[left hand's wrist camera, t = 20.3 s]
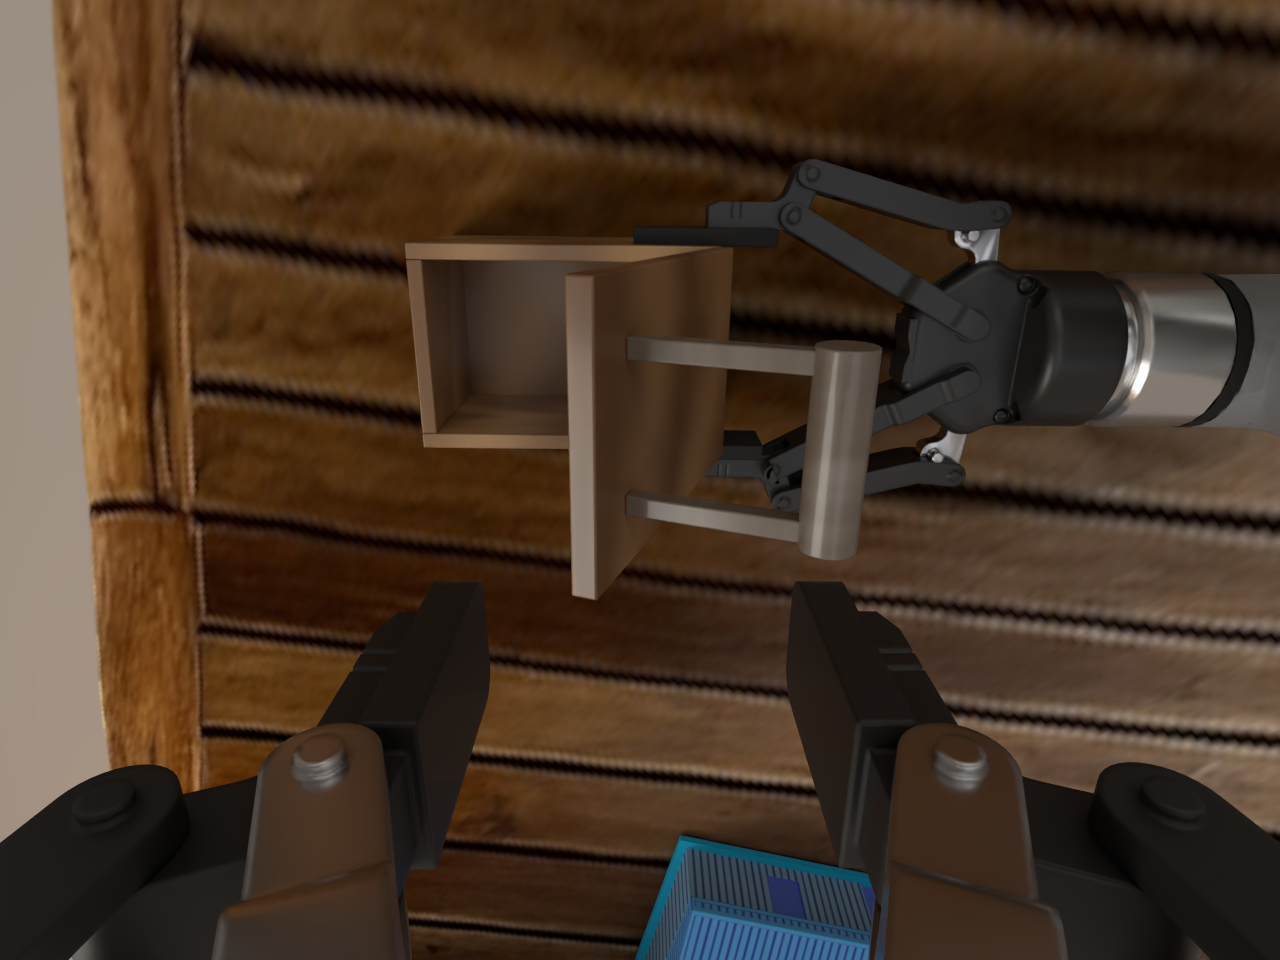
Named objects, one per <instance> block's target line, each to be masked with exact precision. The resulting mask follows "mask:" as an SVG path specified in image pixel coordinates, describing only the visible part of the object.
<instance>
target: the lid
mask: <svg viewBox="0 0 1280 960" xmlns="http://www.w3.org/2000/svg"><path fill="white" fill-rule="evenodd" d="M733 251H734V249H733V248H732V247H713V248H708V249H702V250H697V251H691V252H685V253H680V254H674V255H669V256H663V257H657V258H652V259H646V260H641V261H635V262H629V263H624V264H618V265H613V266H607V267H601V268H596V269H590V270H584V271H579V272H573V273H568V274H566V275H565V312H566V355H567V399H568V443H569V486H570V530H571V573H572V595H573V596H576V597H581V598H586V599H591V600H597V599H598V598H599V597H600V596H601V595H602V594H603V592H604V591H605V590H606V589H607V588H608V587H609V585H610V584H611V583H612V582H613V581H614V580H615V579H616V577H617V576H618V575H619V574H620V573H621V572H622V570H623V569H624V568H625V567H626V566H627V565H628V563H629V562H630V561H631V560H632V559H633V558H634V557H635V555H636V554H637V553H638V552H639V551H640V550H641V548H642V547H643V546H644V545H645V544H646V543H647V542H648V540H649V539H650V538H651V537H652V536H653V535H654V533H655V532H656V531H657V530H658V529H659V528H660V527H661V525H662V524H663V523H664V522H672V523H678V524H684V525H690V526H697V527H703V528H709V529H715V530H722V531H728V532H734V533H740V534H747V535H753V536H759V537H765V538H772V539H778V540H784V541H790V542H796V545H797V548H798V549H799V550H800V551H801V552H803V553H804V554H806V555H808V556H811V557H814V558H818V559H823V560H844V559H848V558H851V557H853V556H854V555H855V554H856V552H857V547H858V539H859V531H860V523H861V515H862V507H863V499H864V491H865V483H866V475H867V467H868V460H869V452H870V444H871V436H872V428H873V420H874V412H875V404H876V396H877V388H878V380H879V373H880V365H881V357H882V348H881V347H880V346H878V345H876V344H872V343H867V342H860V341H848V340H830V341H822V342H818V343H816V344H815V347H810V346H797V345H783V344H769V343H756V342H742V341H729V326H730V307H731V288H732V270H733ZM727 369H736V370H747V371H759V372H770V373H782V374H794V375H805V376H812V380H811V390H810V401H809V411H808V422H807V433H806V443H805V454H804V464H803V475H802V486H801V496H800V507H799V513H793V512H786V511H779V510H772V509H765V508H759V507H752V506H745V505H738V504H731V503H725V502H718V501H711V500H704V499H697V498H691V497H686V496H687V495H688V494H689V493H690V492H691V491H692V490H693V488H694V487H695V486H696V485H697V484H698V483H699V481H700V480H701V479H702V478H703V477H704V476H705V475H706V473H707V472H708V471H709V470H710V469H711V468H712V466H713V465H714V464H715V463H716V462H717V461H718V460H719V458H720V457H721V456H722V455H723V438H724V419H725V401H726V382H727Z"/></svg>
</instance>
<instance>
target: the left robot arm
mask: <svg viewBox="0 0 1280 960" xmlns="http://www.w3.org/2000/svg"><path fill="white" fill-rule="evenodd" d="M363 651H364V652H363V654H361V655H360V657H359V658H358V660H357V662H356V663H355V665H354V667H353V672H350V673H349V675H348V676H347V678H346V680H345V681H344V683H343V684H342V686H341V688H340V689H339V691H338V693H337V694H336V696H335V698H334V699H333V701H332V702H331V704H330V706H329V707H328V709H327V711H326V712H325V714H324V715H323V717H322V719H321V720H320V722H319V724H318V725H317V727H314V728H311V729H308V730H306V731H303V732H301V733H299V734H297V735H295V736H293V737H291V738H289V739H288V740H286V741H284V742H283V743H282V744H280V745H279V746H278V747H276V748H275V749H274V750H273V751H272V752H271V753H270V754H269V755H268V757H267V758H266V759H265V760H264V762H263V764H262V766H261V768H260V770H259V774H258V775H257V776H254V777H252V778H249V779H246V780H242V781H239V782H235V783H231V784H226V785H222V786H217V787H213V788H209V789H204V790H200V791H195V792H191V793H186V794H183V793H182V789H181V785H180V782H179V779H178V777H177V775H176V774H175V773H174V772H173V771H171V770H169V769H168V768H165V767H162V766H158V765H134V766H127V767H123V768H118V769H114V770H111V771H108V772H105V773H102V774H100V775H97V776H95V777H93V778H90V779H88V780H86V781H84V782H82V783H80V784H78V785H77V786H75V787H73V788H72V789H70V790H68V791H67V792H65V793H64V794H62V795H61V796H60V797H58V798H57V799H56V800H54V801H53V802H52V803H50V804H49V805H48V806H47V807H45V808H44V809H43V810H42V811H40V812H39V813H38V814H36V815H35V816H34V817H33V818H31V819H30V820H29V821H28V822H26V823H25V824H24V825H22V826H21V827H20V828H19V829H17V830H16V831H15V832H13V833H12V834H11V835H10V836H8V837H7V838H6V839H5V840H3V841H2V842H1V843H0V960H69V959H70V958H71V957H72V958H73V960H412V952H411V942H410V932H409V921H408V911H407V904H406V898H405V891H404V884H405V881H406V878H407V875H408V872H409V870H436V867H437V864H438V861H439V857H440V854H441V851H442V848H443V844H444V841H445V838H446V834H447V831H448V828H449V825H450V821H451V818H452V815H453V811H454V808H455V805H456V802H457V798H458V795H459V792H460V788H461V785H462V782H463V779H464V775H465V772H466V769H467V766H468V762H469V759H470V756H471V752H472V749H473V746H474V743H475V739H476V736H477V733H478V729H479V726H480V723H481V720H482V716H483V713H484V710H485V706H486V703H487V699H488V693H489V684H490V659H489V647H488V636H487V624H486V612H485V600H484V592H483V587H482V585H481V583H480V582H434V583H433V584H432V586H431V588H430V589H429V591H428V593H427V595H426V597H425V599H424V601H423V602H422V604H421V606H420V608H419V610H418V612H399V613H398V614H397V615H395V616H394V617H393V618H391V619H390V620H389V621H387V622H386V623H385V624H383V625H382V626H380V627H379V628H378V629H376V631H375V632H374V634H373V636H372V637H371V639H370V640H369V642H368V644H367V645H366V647H365V649H364V650H363ZM786 676H787V689H788V696H789V701H790V705H791V708H792V711H793V715H794V718H795V721H796V725H797V728H798V731H799V735H800V738H801V741H802V745H803V748H804V752H805V755H806V758H807V762H808V765H809V768H810V772H811V775H812V778H813V782H814V785H815V788H816V792H817V795H818V799H819V802H820V805H821V809H822V812H823V815H824V819H825V822H826V825H827V829H828V832H829V835H830V839H831V842H832V846H833V849H834V852H835V856H836V859H837V862H838V866H839V868H865V869H866V871H867V874H868V877H869V880H870V883H871V886H872V889H873V892H874V895H875V898H874V904H873V911H872V921H871V932H870V942H869V952H868V960H1199V958H1200V956H1201V953H1202V951H1203V952H1204V953H1205V954H1206V955H1207V956H1208V957H1209V958H1210V959H1211V960H1280V843H1279V842H1278V841H1277V840H1275V839H1274V838H1273V837H1272V836H1270V835H1269V834H1268V833H1267V832H1265V831H1264V830H1263V829H1261V828H1260V827H1259V826H1258V825H1256V824H1255V823H1254V822H1252V821H1251V820H1250V819H1249V818H1247V817H1246V816H1245V815H1244V814H1242V813H1241V812H1240V811H1238V810H1237V809H1236V808H1235V807H1233V806H1232V805H1231V804H1230V803H1228V802H1227V801H1226V800H1224V799H1223V798H1222V797H1221V796H1219V795H1218V794H1216V793H1215V792H1214V791H1212V790H1211V789H1209V788H1208V787H1206V786H1204V785H1203V784H1201V783H1199V782H1198V781H1196V780H1194V779H1192V778H1190V777H1188V776H1185V775H1183V774H1181V773H1178V772H1176V771H1173V770H1170V769H1167V768H1164V767H1160V766H1156V765H1151V764H1145V763H1136V762H1126V763H1118V764H1115V765H1111V766H1109V767H1107V768H1106V769H1104V770H1103V771H1102V772H1101V773H1100V776H1099V778H1098V781H1097V784H1096V788H1095V792H1094V793H1089V792H1085V791H1080V790H1076V789H1072V788H1067V787H1063V786H1058V785H1054V784H1049V783H1045V782H1041V781H1037V780H1033V779H1029V778H1026V777H1023V776H1022V774H1021V770H1020V768H1019V766H1018V764H1017V762H1016V760H1015V759H1014V758H1013V757H1012V755H1011V754H1010V753H1009V752H1008V751H1007V750H1006V749H1005V748H1004V747H1002V746H1001V745H1000V744H998V743H997V742H996V741H994V740H992V739H991V738H989V737H987V736H985V735H983V734H981V733H979V732H977V731H974V730H972V729H969V728H966V727H962V726H959V725H957V723H956V721H955V720H954V718H953V716H952V715H951V713H950V711H949V710H948V708H947V706H946V705H945V703H944V701H943V700H942V698H941V696H940V695H939V693H938V692H937V690H936V688H935V687H934V685H933V683H932V682H931V680H930V678H929V677H928V675H927V673H926V672H925V671H923V670H922V665H921V663H920V662H919V660H918V658H917V657H916V655H915V654H912V649H911V647H910V645H909V644H908V642H907V640H906V639H905V637H904V635H903V634H902V632H901V630H900V629H899V628H898V627H896V626H895V625H894V624H892V623H891V622H890V621H888V620H887V619H886V618H884V617H883V616H882V615H880V614H879V613H878V612H876V611H858V610H857V608H856V606H855V604H854V602H853V600H852V598H851V596H850V594H849V593H848V591H847V589H846V587H845V585H844V584H843V583H842V582H840V581H797V582H796V583H795V585H794V588H793V593H792V603H791V615H790V627H789V639H788V651H787V665H786Z"/></svg>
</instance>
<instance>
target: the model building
mask: <svg viewBox="0 0 1280 960" xmlns="http://www.w3.org/2000/svg"><path fill="white" fill-rule="evenodd" d="M874 898H875V895H874V892H873V889H872V886H871V883H870V880H869V877H868V874H867V873H862V872H857V871H853V870H848V869H843V868H838V867H833V866H828V865H824V864H819V863H814V862H809V861H804V860H799V859H794V858H790V857H785V856H780V855H775V854H770V853H765V852H761V851H756V850H751V849H746V848H741V847H736V846H731V845H727V844H722V843H717V842H712V841H707V840H702V839H698V838H693V837H688V836H683V835H680V837H679V840H678V843H677V845H676V848H675V851H674V853H673V856H672V859H671V862H670V864H669V867H668V870H667V872H666V875H665V878H664V881H663V883H662V886H661V889H660V891H659V894H658V897H657V900H656V902H655V905H654V908H653V910H652V913H651V916H650V919H649V921H648V924H647V927H646V929H645V932H644V935H643V938H642V940H641V943H640V946H639V948H638V951H637V954H636V957H635V959H634V960H868V952H869V942H870V932H871V921H872V911H873V904H874Z"/></svg>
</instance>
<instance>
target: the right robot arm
mask: <svg viewBox="0 0 1280 960" xmlns="http://www.w3.org/2000/svg"><path fill="white" fill-rule="evenodd" d="M815 194H816V195H819V196H823V197H826V198H829V199H833V200H836V201H839V202H843V203H846V204H849V205H853V206H856V207H859V208H862V209H866V210H869V211H872V212H876V213H879V214H882V215H886V216H889V217H892V218H895V219H899V220H902V221H905V222H909V223H912V224H915V225H919V226H922V227H926V228H931V229H939V230H947V239H948V242H949V243H950V244H951V245H952V246H954V247H958V248H962V249H963V250H965V252H966V253H967V255H968V261H967V262H965V263H964V264H962V265H961V266H959V267H958V268H956V269H955V270H953V271H952V272H950V273H949V274H947V275H946V276H944V277H943V278H941V279H940V280H938V281H937V282H935V283H934V284H931V283H929V282H928V281H926V280H924V279H923V278H921V277H919V276H917V275H915V274H913V273H911V272H909V271H908V270H906V269H905V268H903V267H901V266H900V265H898V264H897V263H895V262H893V261H892V260H890V259H888V258H887V257H885V256H884V255H882V254H880V253H879V252H877V251H876V250H874V249H872V248H871V247H869V246H868V245H866V244H864V243H863V242H861V241H859V240H858V239H856V238H855V237H853V236H851V235H850V234H848V233H847V232H845V231H843V230H842V229H840V228H839V227H837V226H835V225H834V224H832V223H830V222H829V221H827V220H826V219H824V218H822V217H821V216H819V215H818V214H816V213H814V212H813V211H811V210H810V209H809V208H810V206H811V203H812V201H813V199H814V196H815ZM1011 216H1012V208H1011V207H1010V205H1009V204H1008V203H1007V202H1005V201H968V202H954V201H951V200H948V199H945V198H941V197H938V196H935V195H932V194H928V193H925V192H922V191H919V190H915V189H912V188H909V187H905V186H902V185H899V184H896V183H892V182H889V181H886V180H883V179H879V178H876V177H873V176H870V175H866V174H863V173H860V172H857V171H853V170H850V169H847V168H844V167H840V166H837V165H834V164H831V163H827V162H824V161H821V160H818V159H809V160H805V161H801V162H798V163H796V164H795V165H793V166H792V167H791V169H790V171H789V178H788V180H787V183H786V185H785V187H784V190H783V192H782V194H781V195H780V196H779V197H778V198H777V199H775V200H773V201H771V202H733V201H717V202H714V203H712V204H709V205H707V206H706V223H705V227H681V226H634V245H711V246H737V247H777V242H778V230H782V231H784V232H786V233H787V234H789V235H791V236H792V237H794V238H796V239H797V240H799V241H800V242H802V243H804V244H805V245H807V246H809V247H810V248H812V249H814V250H815V251H817V252H818V253H820V254H822V255H823V256H825V257H827V258H828V259H830V260H832V261H833V262H835V263H837V264H838V265H840V266H841V267H843V268H845V269H846V270H848V271H850V272H851V273H853V274H855V275H856V276H858V277H859V278H861V279H863V280H864V281H866V282H868V283H869V284H871V285H873V286H874V287H876V288H877V289H879V290H881V291H882V292H883V293H885V294H886V295H888V296H889V297H891V298H893V299H894V300H896V301H898V302H899V303H901V304H902V305H904V308H903V309H902V311H901V313H897V316H896V323H895V333H896V341H897V345H896V348H895V350H894V353H893V355H892V358H891V362H890V369H889V375H890V376H892V379H890V380H888V381H886V382H884V383H881V384H879V385H878V388H877V396H876V404H875V412H874V420H873V428H872V435H874V434H876V433H878V432H880V431H882V430H884V429H886V428H888V427H891V426H899V425H903V424H906V423H908V422H910V421H912V420H915V419H917V418H919V417H921V416H923V415H925V414H927V415H929V416H930V417H931V418H932V419H934V420H935V421H936V422H937V423H939V424H940V425H941V428H940V431H939V432H938V433H937V434H936V435H934V436H932V437H928V438H923V439H920V440H919V441H917V443H916V447H900V448H894V449H889V450H885V451H881V452H876V453H872V454H869V460H868V467H867V475H866V483H865V491H864V495H869V494H873V493H878V492H882V491H887V490H891V489H895V488H900V487H904V486H909V485H913V484H917V483H922V484H932V485H942V486H957V485H959V484H960V483H961V482H962V481H963V480H964V478H965V475H966V472H965V469H964V468H963V467H962V466H961V465H960V464H959V461H960V457H961V453H962V449H963V446H964V442H965V438H966V434H969V433H972V432H974V431H976V430H978V429H980V428H983V427H986V426H990V425H1010V426H1077V425H1081V424H1083V423H1084V424H1086V425H1088V426H1095V427H1216V428H1245V429H1254V430H1260V431H1265V432H1269V433H1273V434H1275V435H1278V436H1280V274H1210V273H1184V272H1125V271H1116V272H1107V273H1104V274H1100V273H1098V272H1094V271H1056V270H1012V269H1010V268H1008V267H1006V266H1005V265H1003V264H1002V263H1000V262H998V261H997V256H998V245H999V233H1000V228H1003V227H1004V226H1005V225H1007V224H1008V222H1009V221H1010V219H1011ZM806 433H807V424H805V425H803V426H801V427H799V428H797V429H795V430H793V431H790V432H788V433H786V434H784V435H782V436H780V437H778V438H776V439H774V440H772V441H770V442H768V443H766V444H764V445H762V444H761V442H760V440H759V438H758V436H757V434H756V432H755V431H739V430H724V438H723V455H722V456H721V457H720V458H719V460H718V461H717V462H716V463H715V464H714V465H713V466H712V468H711V469H710V470H709V471H708V472H707V473H706V475H705V476H706V477H752V478H757V479H760V480H761V481H762V482H763V483H764V486H765V490H766V492H767V495H768V497H769V499H770V502H771V504H772V506H773V508H774V510H779V511H786V512H794V511H798V510H799V507H800V496H801V486H802V475H803V470H800V469H803V464H804V454H805V443H806Z"/></svg>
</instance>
